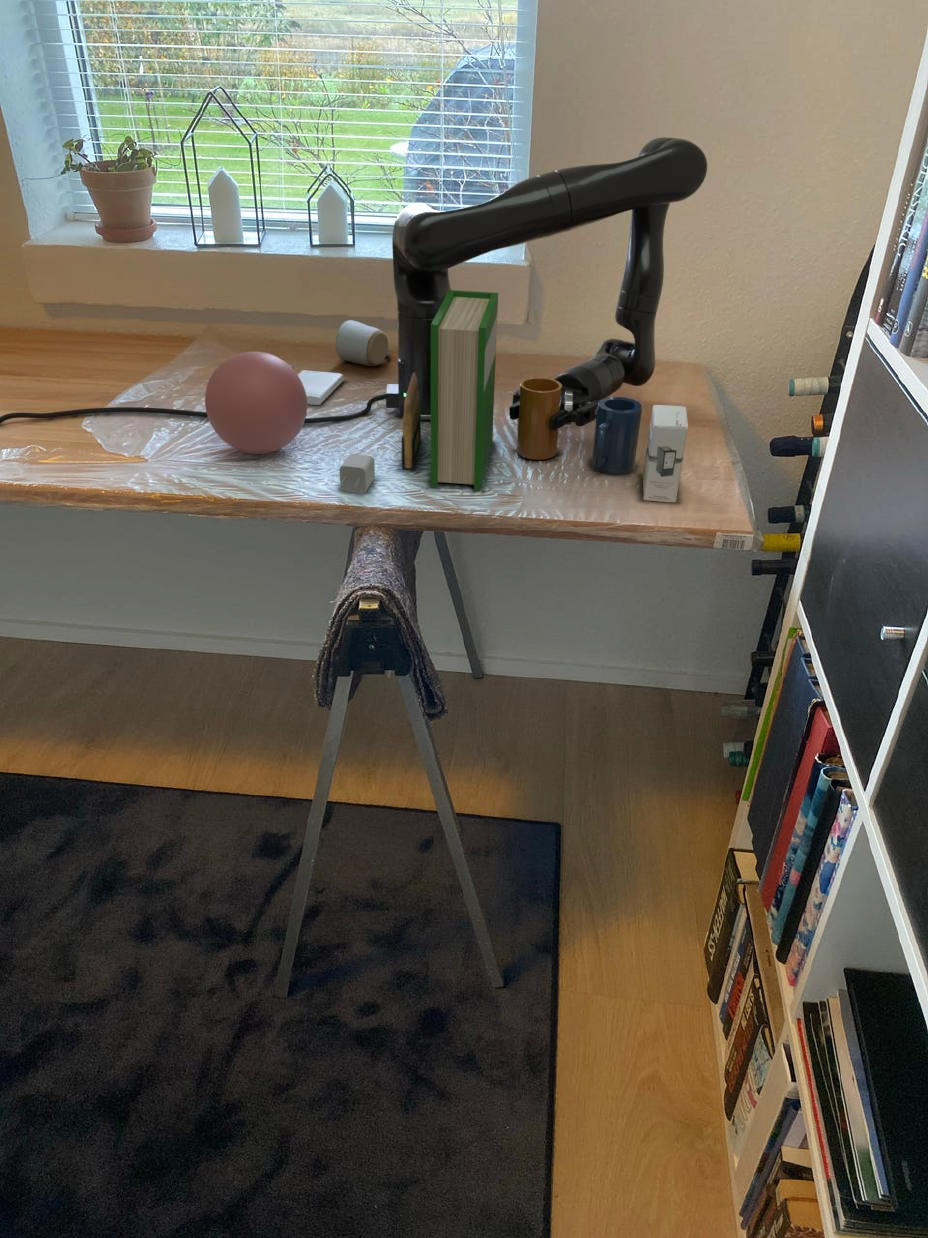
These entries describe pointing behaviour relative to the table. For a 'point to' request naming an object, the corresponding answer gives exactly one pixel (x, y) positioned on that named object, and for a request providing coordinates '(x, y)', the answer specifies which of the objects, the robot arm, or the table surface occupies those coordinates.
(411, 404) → the ammunition clip
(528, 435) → the tumbler
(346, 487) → the usb wall charger
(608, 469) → the mug
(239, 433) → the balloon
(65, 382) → the table surface
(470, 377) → the hardback book
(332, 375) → the hard drive
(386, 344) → the ceramic mug
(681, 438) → the ink box
